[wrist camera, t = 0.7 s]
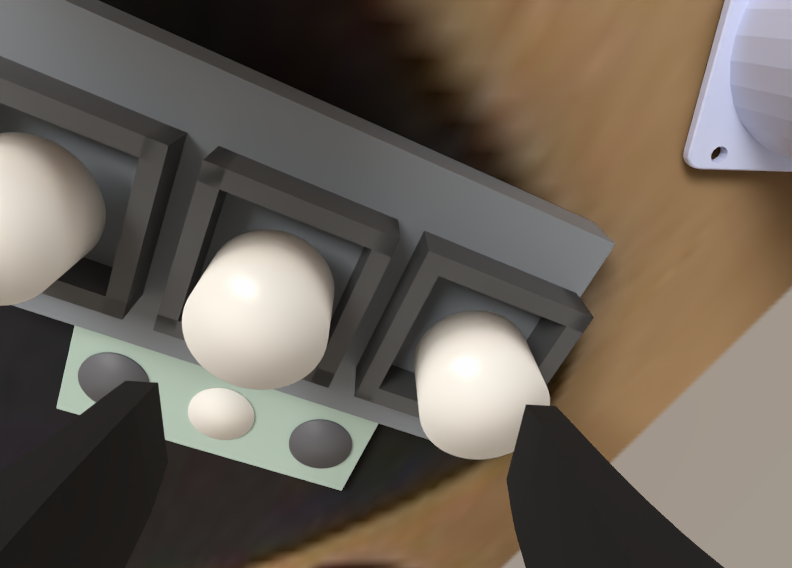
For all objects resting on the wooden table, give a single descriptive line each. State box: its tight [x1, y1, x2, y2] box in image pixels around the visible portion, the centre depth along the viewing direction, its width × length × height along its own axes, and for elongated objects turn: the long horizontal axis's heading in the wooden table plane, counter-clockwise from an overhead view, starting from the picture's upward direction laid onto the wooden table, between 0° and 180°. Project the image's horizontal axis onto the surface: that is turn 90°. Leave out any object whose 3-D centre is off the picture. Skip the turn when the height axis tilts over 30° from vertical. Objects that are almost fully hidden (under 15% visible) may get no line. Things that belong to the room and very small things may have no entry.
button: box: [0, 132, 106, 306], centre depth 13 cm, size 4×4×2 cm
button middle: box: [182, 229, 335, 390], centre depth 15 cm, size 4×4×2 cm
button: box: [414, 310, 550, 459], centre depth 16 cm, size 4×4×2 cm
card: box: [57, 326, 379, 491], centre depth 22 cm, size 12×4×1 cm, turn 66°
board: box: [0, 0, 615, 440], centre depth 18 cm, size 19×10×4 cm, turn 66°
